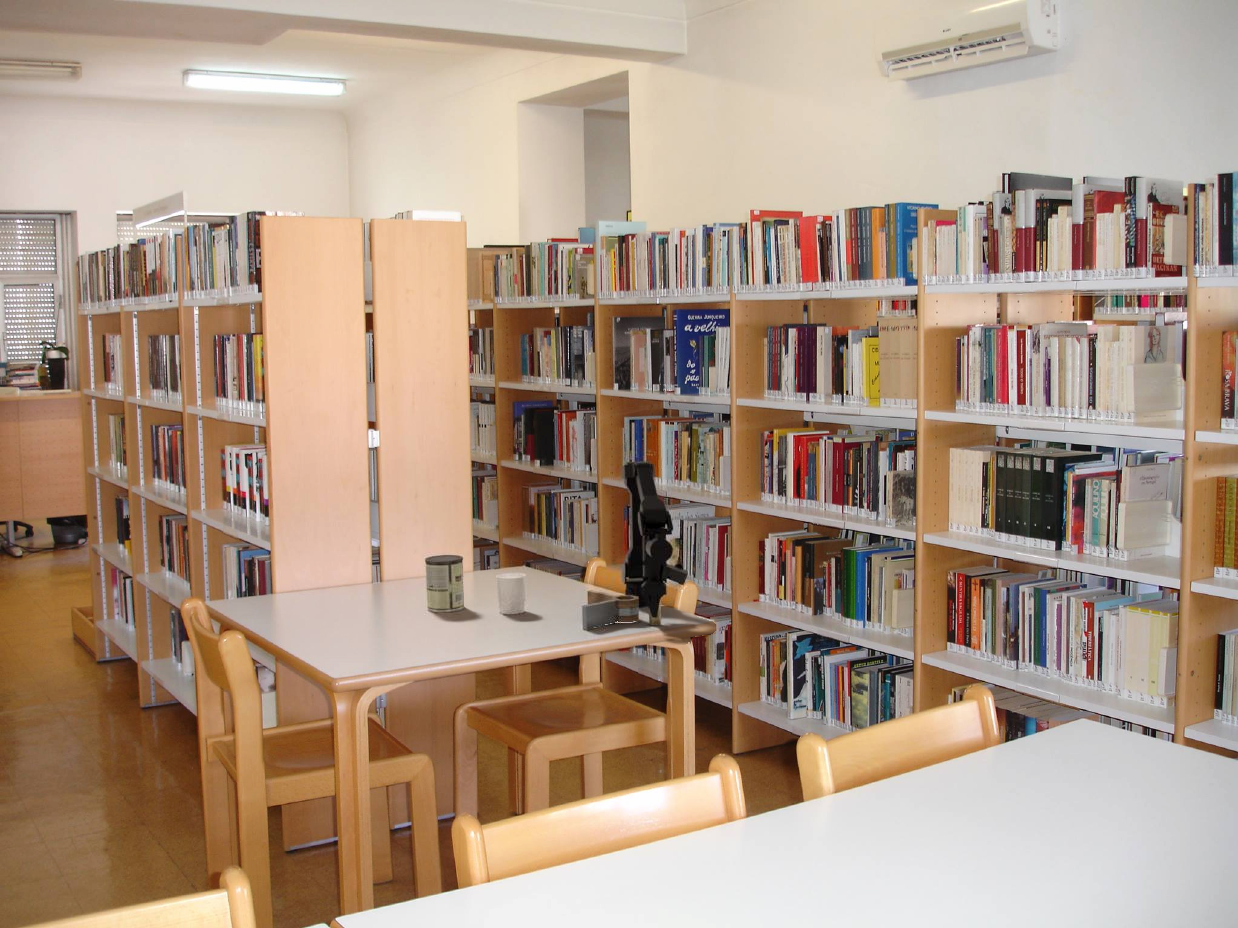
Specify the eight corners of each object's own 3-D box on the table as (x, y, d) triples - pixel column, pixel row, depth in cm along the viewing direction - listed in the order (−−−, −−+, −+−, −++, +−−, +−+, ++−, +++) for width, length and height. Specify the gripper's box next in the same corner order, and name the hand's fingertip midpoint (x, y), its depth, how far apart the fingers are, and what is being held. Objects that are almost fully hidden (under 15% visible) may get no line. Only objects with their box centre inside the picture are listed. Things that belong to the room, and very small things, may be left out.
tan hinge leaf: (644, 620, 307) (643, 597, 306) (624, 624, 302) (624, 601, 301) (599, 610, 319) (599, 588, 319) (580, 614, 315) (579, 592, 314)
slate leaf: (626, 616, 312) (625, 593, 311) (644, 620, 307) (643, 597, 306) (575, 627, 300) (575, 604, 299) (593, 631, 295) (593, 608, 294)
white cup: (500, 616, 315) (499, 579, 314) (495, 610, 322) (494, 573, 321) (529, 613, 317) (528, 577, 316) (523, 607, 324) (522, 572, 323)
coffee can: (431, 604, 331) (430, 554, 330) (468, 604, 330) (466, 554, 328) (422, 612, 321) (420, 561, 319) (459, 612, 320) (458, 561, 318)
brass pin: (655, 621, 304) (654, 591, 303) (663, 623, 301) (663, 592, 301) (646, 623, 302) (646, 593, 301) (654, 625, 299) (654, 594, 299)
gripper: (686, 561, 290) (687, 624, 292) (685, 549, 309) (686, 607, 310) (641, 562, 291) (641, 624, 292) (642, 549, 309) (643, 608, 311)
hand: (654, 615), depth 301 cm, fingers closed on brass pin, 3 cm apart
